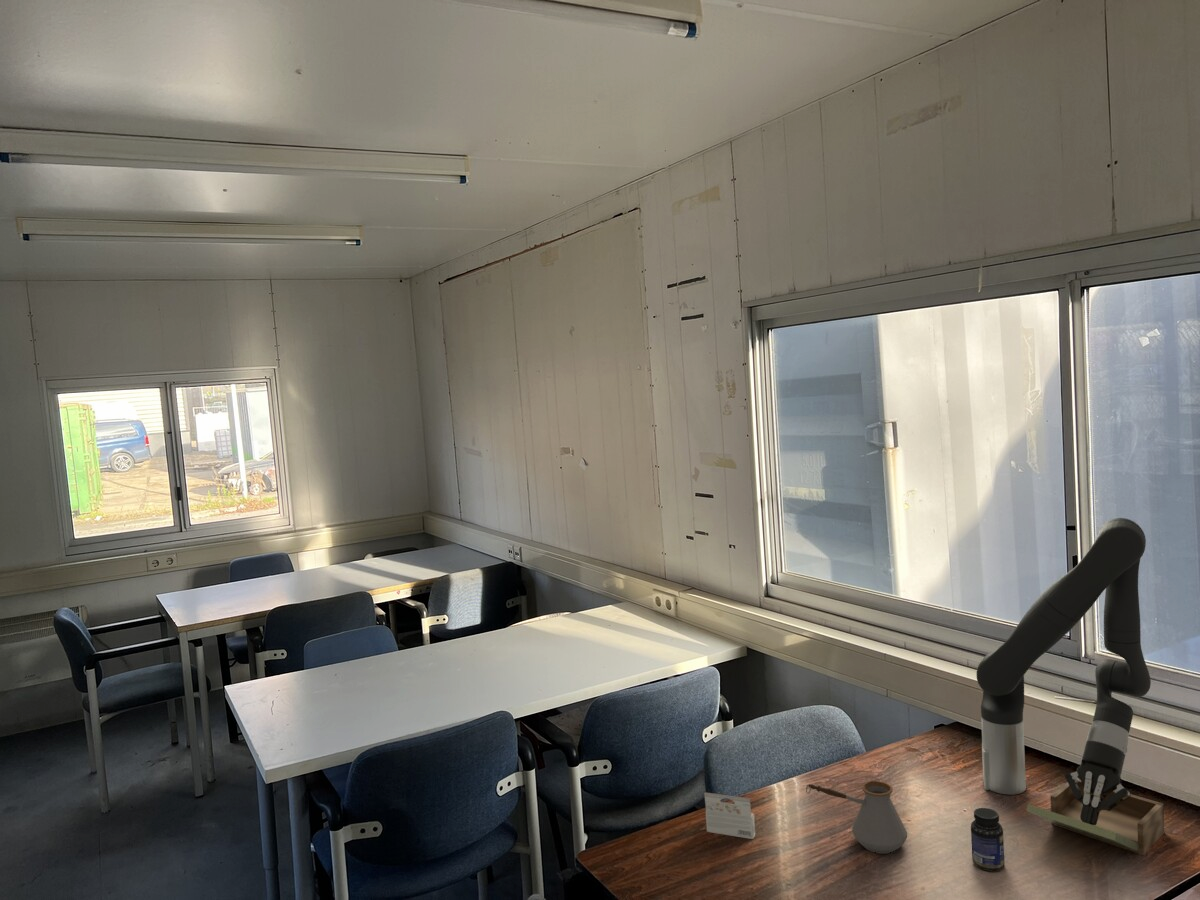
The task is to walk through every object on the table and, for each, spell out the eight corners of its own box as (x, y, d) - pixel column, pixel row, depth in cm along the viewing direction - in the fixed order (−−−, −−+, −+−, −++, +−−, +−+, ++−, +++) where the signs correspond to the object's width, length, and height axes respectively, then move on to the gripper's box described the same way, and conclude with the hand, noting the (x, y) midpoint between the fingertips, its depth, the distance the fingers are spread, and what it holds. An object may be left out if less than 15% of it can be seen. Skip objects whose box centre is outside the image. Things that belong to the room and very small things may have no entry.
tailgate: (1053, 815, 188) (1027, 803, 180) (1139, 844, 175) (1116, 832, 167) (1052, 822, 188) (1026, 811, 180) (1138, 851, 175) (1114, 840, 167)
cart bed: (1074, 804, 197) (1073, 777, 196) (1164, 832, 182) (1163, 803, 182) (1051, 824, 189) (1050, 796, 189) (1143, 855, 175) (1142, 825, 174)
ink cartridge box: (709, 827, 199) (706, 787, 198) (756, 834, 194) (753, 793, 193) (706, 832, 197) (703, 792, 196) (753, 840, 192) (750, 798, 191)
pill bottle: (1008, 873, 172) (1006, 821, 171) (976, 872, 174) (973, 820, 173) (1000, 856, 178) (998, 806, 177) (969, 855, 180) (967, 805, 179)
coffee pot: (895, 828, 192) (892, 764, 191) (916, 855, 181) (913, 788, 180) (802, 836, 192) (798, 772, 190) (817, 865, 180) (813, 797, 179)
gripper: (1067, 732, 188) (1048, 808, 182) (1134, 749, 178) (1116, 830, 172) (1079, 745, 192) (1060, 820, 186) (1145, 762, 182) (1127, 842, 176)
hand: (1087, 825), depth 179 cm, fingers closed
